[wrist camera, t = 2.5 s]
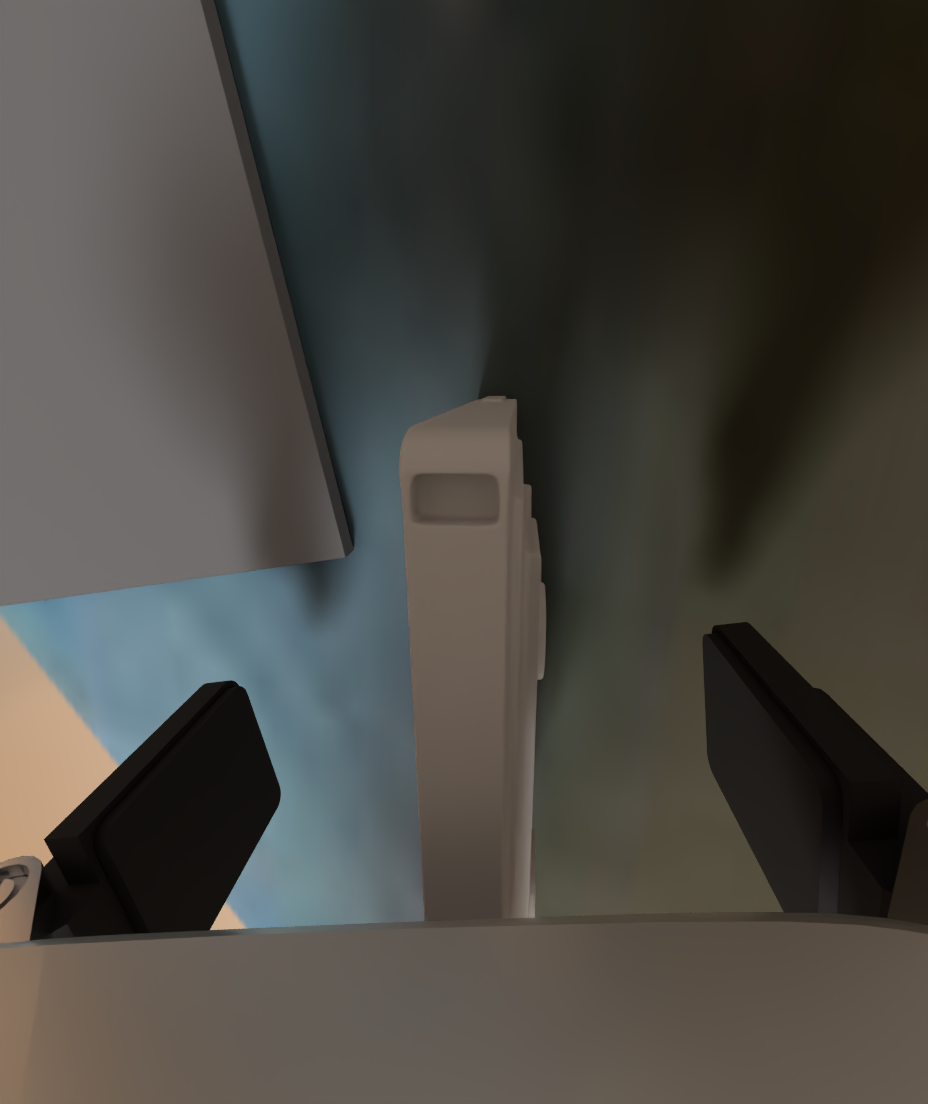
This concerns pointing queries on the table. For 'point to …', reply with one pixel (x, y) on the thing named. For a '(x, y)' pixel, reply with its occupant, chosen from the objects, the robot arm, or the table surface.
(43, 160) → the pad
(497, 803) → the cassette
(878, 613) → the table surface
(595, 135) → the table surface
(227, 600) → the table surface
